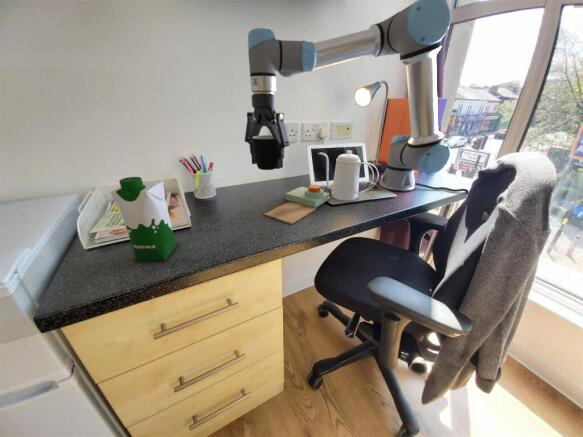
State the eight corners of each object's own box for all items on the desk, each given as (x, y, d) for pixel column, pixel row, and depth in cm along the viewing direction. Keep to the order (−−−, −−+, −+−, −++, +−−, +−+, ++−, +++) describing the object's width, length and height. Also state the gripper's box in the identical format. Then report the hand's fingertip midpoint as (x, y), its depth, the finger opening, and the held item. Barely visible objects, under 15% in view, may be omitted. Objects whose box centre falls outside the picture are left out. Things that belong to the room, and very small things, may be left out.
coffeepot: (320, 188, 108) (322, 145, 100) (376, 197, 97) (384, 151, 89) (310, 195, 99) (312, 149, 91) (371, 206, 89) (379, 156, 81)
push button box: (329, 199, 95) (330, 188, 93) (315, 208, 87) (315, 196, 85) (300, 192, 103) (301, 182, 101) (285, 199, 95) (285, 189, 93)
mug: (284, 169, 79) (284, 137, 74) (258, 172, 76) (256, 139, 71) (272, 162, 89) (271, 133, 84) (249, 164, 85) (247, 135, 81)
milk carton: (130, 263, 56) (101, 182, 48) (149, 243, 64) (127, 171, 56) (167, 262, 57) (145, 182, 48) (182, 242, 65) (165, 171, 56)
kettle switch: (322, 191, 92) (322, 186, 91) (316, 194, 89) (316, 188, 88) (312, 188, 94) (312, 183, 94) (306, 191, 91) (306, 186, 90)
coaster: (316, 209, 86) (316, 208, 86) (291, 224, 75) (291, 223, 75) (289, 202, 92) (289, 201, 92) (263, 214, 82) (263, 213, 81)
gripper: (229, 94, 75) (236, 163, 85) (285, 92, 63) (286, 173, 73) (246, 94, 81) (251, 159, 90) (301, 93, 68) (300, 168, 78)
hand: (267, 165), depth 81 cm, fingers closed on mug, 10 cm apart
